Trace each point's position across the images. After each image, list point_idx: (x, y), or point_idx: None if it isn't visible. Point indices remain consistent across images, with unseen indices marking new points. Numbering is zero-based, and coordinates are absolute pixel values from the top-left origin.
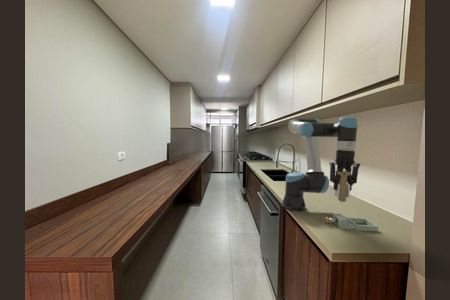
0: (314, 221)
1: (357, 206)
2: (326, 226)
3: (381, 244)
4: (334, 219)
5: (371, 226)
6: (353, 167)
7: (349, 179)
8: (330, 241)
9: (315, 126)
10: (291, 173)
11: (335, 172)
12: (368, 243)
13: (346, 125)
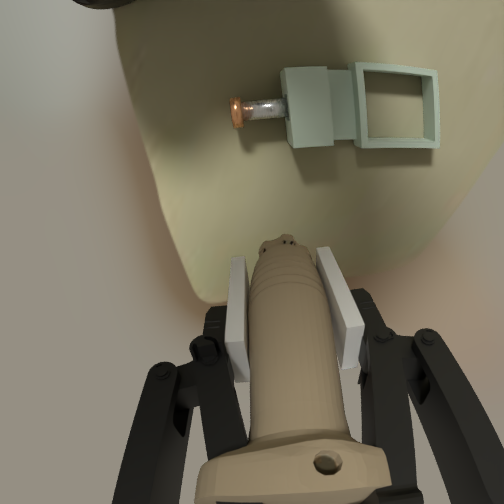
0: (184, 96)
1: None
2: (228, 135)
3: (377, 236)
4: (274, 113)
5: (417, 147)
6: (480, 501)
7: (362, 413)
8: (207, 257)
9: None
10: None
11: (198, 476)
12: (338, 240)
13: None
